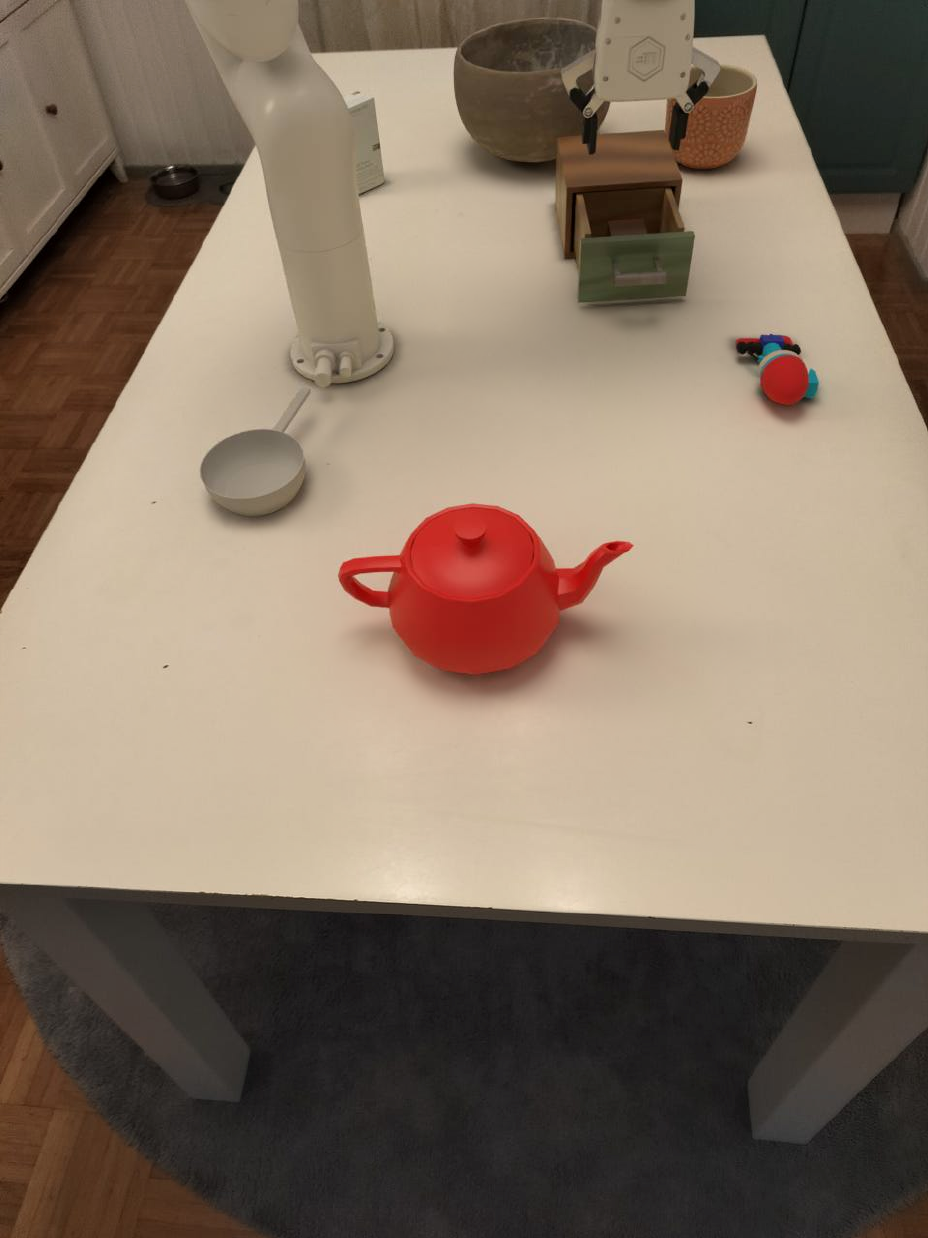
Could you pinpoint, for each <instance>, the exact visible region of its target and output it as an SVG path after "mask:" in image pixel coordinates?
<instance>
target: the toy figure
mask: <svg viewBox="0 0 928 1238" xmlns="http://www.w3.org/2000/svg"><path fill="white" fill-rule="evenodd" d="M735 345H736V346H735V347H736V350H737V352H738V354H740V355H746V354H747V355H749V357H751V358H753V359H754V360H755V361H757V363H758V368H757V375H758V379H759V382H760V386H761V389H762V391H763V392H764V393H765V395H766V396H767V397H768V398H769V399H770V400H771V401H773V402H775V404H776V403H777V404H779V405H784V406H785V405H786V406H789V405H794V404H796V403H798V402H799V401H801V400H802V399H803V398H804V397H805V398H808V399H811V398H815V396H816V394H817V390H818V387H819V384H820V382H819V378H818V375H817V372H816V370H814V369H813V368H810V369H809V370H808V367H807V366H806V364H805V362H804V361H803V359H802V357H801V356H800V354H801V353H802V348H801V347H800V345H799V344H797V343H795V344H794V343H793V341H792V338H791V337H790V336H788V335H783V334H773V333H770V334H760V336H759V338H758V337H757V338H756V337H742V338H737V339H735Z"/></svg>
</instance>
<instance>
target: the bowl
mask: <svg viewBox="0 0 928 1238" xmlns="http://www.w3.org/2000/svg"><path fill="white" fill-rule="evenodd" d="M597 29H598V28H596V27H595V26H593V25H592V24H590V23H587V22H584V21H581V20H577V19H571V18H565V17H547V16H544V17H532V18H531V17H530V18H522V19H516V20H515V19H514V20H509V21H504V22H499V23H496V24H492V25H489V26H486V27H485V28H482V29H479V30H477V31H475V32H473V33H471V34H469V35H467V37H465V38H464V39H463V40H462V41H461V42H460V43H459V44H458V46H457V49H456V51H455V54H454V61H453V91H454V99H455V103H456V108H457V112H458V115H459V117H460V120H461V122H462V124H463V126H464V128H465V130H466V131H467V133H468V134H469V135H470V137H471V139H473V140H474V141H475V142H476V143H477V145H478V146H479V147H481V148H482V149H483V150H484V151H486V152H488V153H490V154H492V155H493V156H495V157H497V158H500V159H504V160H507V161H514V162H520V163H521V162H522V163H543V162H549V161H555V160H556V147H557V137H566V136H581V135H582V125H583V113H582V112H581V111H580V110H579V109H578V107H577V106H576V105H575V104H574V103H573V102H572V101H571V99H570V97H569V94H568V92H567V90H566V88H565V85H564V83H563V81H562V78H561V74H560V73H561V70H562V69H563V68H564V67H566V66H568V65H569V64H571V63H573V62H574V61H576V60H578V59H579V58H581V57H582V56H584V55H586V54H587V53H589V52H591V51H592V50H594V49H595V43H596V36H597ZM576 83H577V85H578V87H579V88H580V89H581V90H582V91H583V92H584V94H585V95H586V93H587V92H588V91H589V90H590V88H591V87H592V86H593V85H594V82H593V69H591V70H589V71H588V72H586V73H584V74H583V75H581V76H579V77H578V78H577V80H576ZM611 104H612V102H607V101H604V102H603V103H602V105H601V106H600V107H599V108H598V109H597V111H596V114H597V117H598V126H597V132H598V131H599V130H600V127H601V126H602V125H603V122H604V121H605V120H606V117H607V115H608V112H609V109H610V106H611Z"/></svg>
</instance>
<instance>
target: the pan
mask: <svg viewBox="0 0 928 1238" xmlns="http://www.w3.org/2000/svg"><path fill="white" fill-rule="evenodd" d="M310 394H311V388H308V387H301V388H299V390H298V391H297V393H296V394H295V396H294V397H293V399H292V400H291V402H290V403H289V404H288V406H287V407H286V409H285V410H284V412H283V413H282V415H281V416H280V418H279V419H278V420H277V422H276V424H275V425H274V426H273V428H256V429H249V430H243V431H240V432H237V433H234V434H232V435H229V436H227V437H225V438H224V439H221V441H219V442H217V443H216V444H214V445H213V446H212V447H210V449H209V450H208V451H207V452H206V453H205V455H204V456H203V458H202V459H201V460H202V461H201V462H200V467H199V477H200V480H201V482H202V484H203V486H204V488H205V490H206V492H207V493H208V495H209V496H210V497H211V499H212V500H214V501H215V502H216V503H217V504H219V505H220V506H222V507H223V508H225V509H227V510H228V511H230V512H231V513H234V514H236V515H239V516H244V517H246V516H247V517H260V516H264V515H269V514H272V513H274V512H277V511H279V510H281V509H283V508H284V507H286V506H287V505H289V503H291V502H292V501H293V500H294V499H295V497H296V496H297V495H298V492H299V490H300V488H301V486H302V484H303V481H304V479H305V475H306V458H305V453H304V449H303V447H302V445H301V443H300V442H299V441H298V439H297V438H295V437H293V436H292V435H291V434H289V433H286V432H285V431H286V430H287V429H288V427H289V425H290V424H291V423H292V422H293V419H295V416H296V415H297V414H298V412H299V411H300V409H301V408H302V406H303V405H304V403H305V402H306V400H307V398H309V396H310Z"/></svg>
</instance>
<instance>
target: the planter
mask: <svg viewBox="0 0 928 1238" xmlns="http://www.w3.org/2000/svg"><path fill="white" fill-rule="evenodd" d="M719 64H720V67H721V70H720V72H719V73H718V75H717V77H716V78H715V80H714V82H713V83H712V85H711V86H710V87H709V91H708V93H707V94H706V95H705V96H704V97H703V98H702V99H701V100H700V101H699V102H698V103H696V104H695V105H694V108H693V110H692V111H691V112H690V113H689V117H688V123H687V130H686V137H685V139H681V141H680V148H679V150H674V149H672V147H671V144H670V142H669V132H670V125H671V117H672V110H673V105H675V103H677V100H676V99H675V98H674V99H666V106H665V107H666V108H665V109H666V110H665V123H664V131H665V134H666V137H667V139H668V142H669V145H670V147H671V150H672V152H673V155H674V158H675V160H676V163H677V164H680V165H681V166H683V167H686V168H689V169H693V170H712V169H717V168H720V167H722V166H724V165H726V164H727V163H729V162H731V161H732V160H733V159H734V158H735V157H737V156H738V154H739V153H740V152H741V151H742V149H743V147H744V145H745V142H746V140H747V139H746V138H747V135H748V132H749V126H750V122H751V117H752V114H753V113H752V112H753V108H754V104H755V99H756V95H757V89H758V78H757V77H756V76H755V74H753V73H752V72H751V71H749V70H747V69H745V68H742V67H739V66H735V65H730V64H724V63H723V64H722V63H719ZM702 72H703V70H701V69H700V68H698V67H696V66H694V65H691V71H690V79H689V84H688V88H687V90H688V89H689V88H690V87H691V86H692V85H693V84H694V83H695V82H696V81H697V80H698V79H699V78H700V77H701V74H702Z"/></svg>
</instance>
